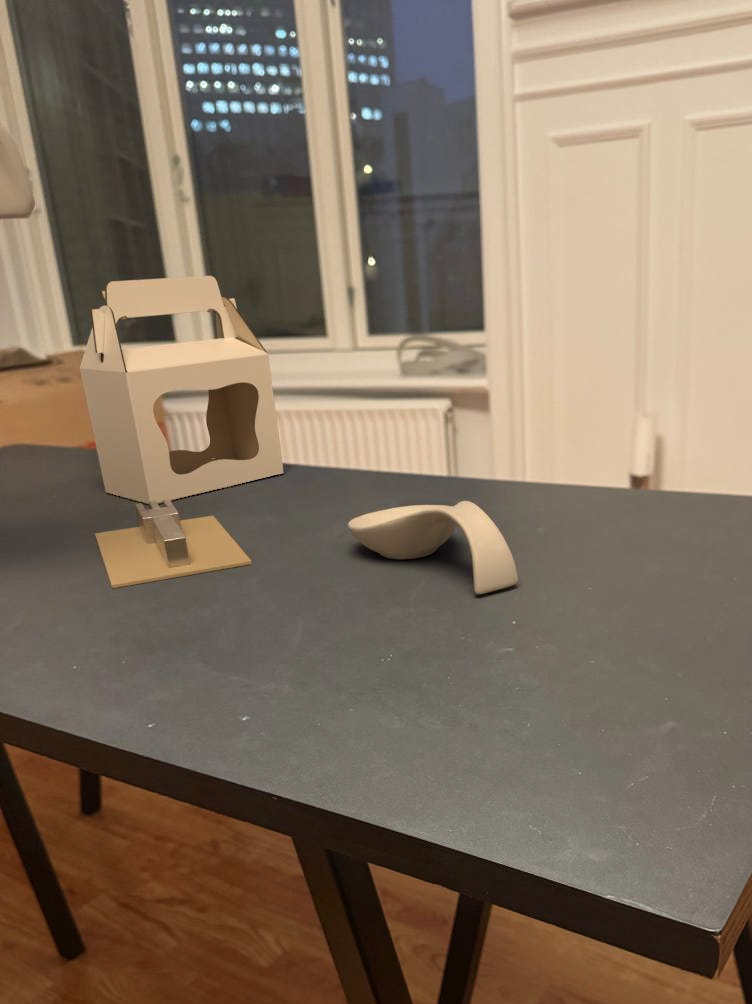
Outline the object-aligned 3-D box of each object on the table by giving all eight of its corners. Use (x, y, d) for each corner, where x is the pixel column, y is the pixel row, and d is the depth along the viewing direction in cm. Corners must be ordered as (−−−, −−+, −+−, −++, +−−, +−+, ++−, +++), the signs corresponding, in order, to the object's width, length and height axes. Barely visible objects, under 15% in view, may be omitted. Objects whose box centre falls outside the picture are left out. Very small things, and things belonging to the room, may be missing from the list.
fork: (199, 563, 97) (194, 535, 96) (159, 569, 95) (154, 542, 94) (173, 522, 113) (169, 498, 112) (139, 527, 111) (134, 503, 110)
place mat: (252, 564, 97) (251, 560, 97) (112, 588, 92) (111, 584, 91) (213, 518, 115) (213, 515, 115) (95, 536, 110) (94, 533, 110)
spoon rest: (332, 549, 100) (325, 485, 98) (425, 529, 106) (420, 467, 103) (448, 608, 82) (443, 530, 79) (552, 579, 88) (550, 505, 85)
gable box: (236, 464, 146) (207, 275, 135) (286, 474, 138) (259, 273, 127) (103, 493, 131) (59, 284, 120) (150, 506, 123) (107, 282, 112)
